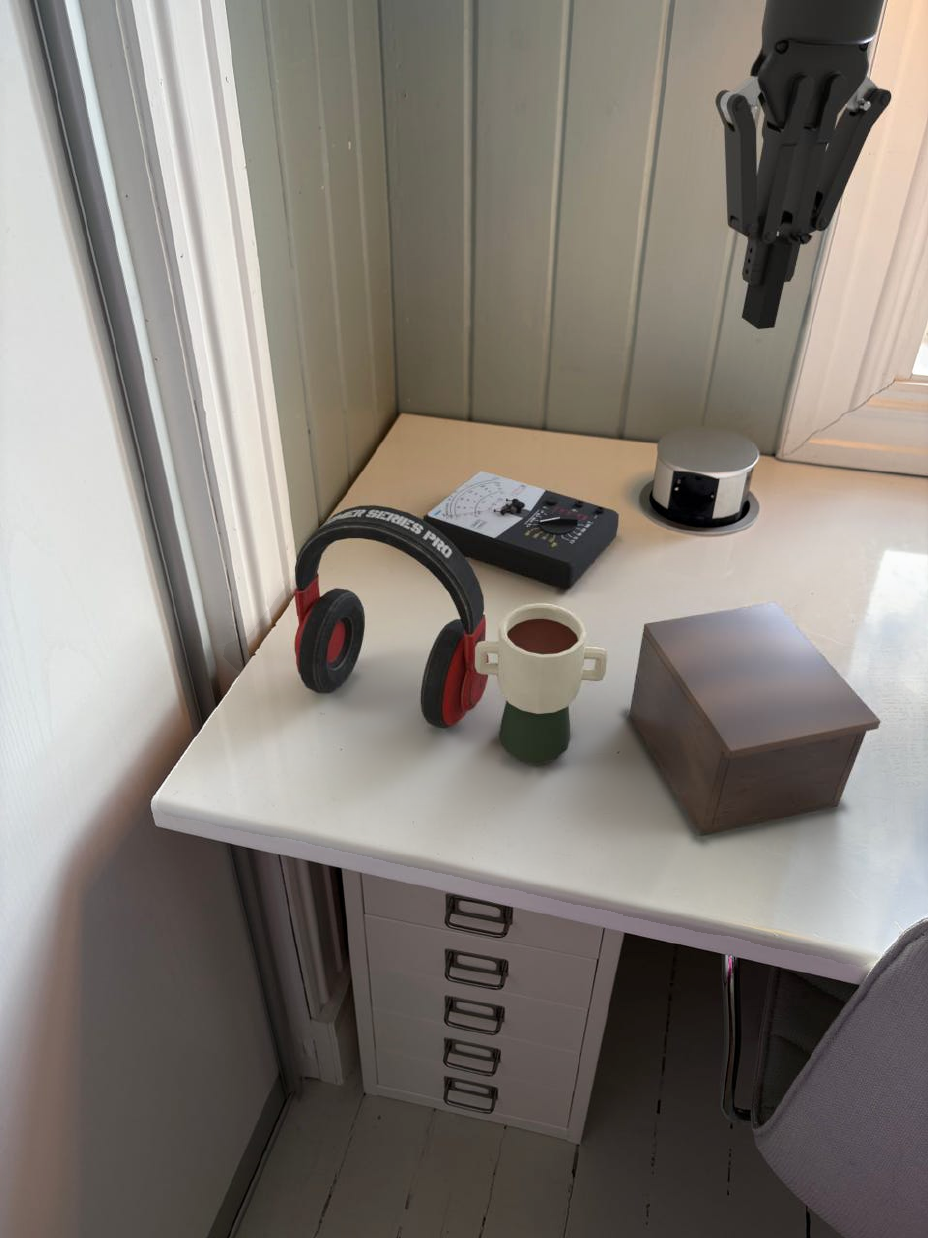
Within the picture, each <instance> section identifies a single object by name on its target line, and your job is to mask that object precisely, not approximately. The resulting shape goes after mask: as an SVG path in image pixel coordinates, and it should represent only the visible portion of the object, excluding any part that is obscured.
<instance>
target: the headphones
mask: <svg viewBox="0 0 928 1238" xmlns="http://www.w3.org/2000/svg"><path fill="white" fill-rule="evenodd" d="M347 539H361V540H368V541H369V540H370V541H375V542H379V543H381V544H385V545H387V546H390V547H392V548H394V549H397V550H399V551H401V552H403V553H404V554H406V555H408V556H409V557H411V558H412V559H414V560H415V561H417V562H418V563H419V564H421V565H422V566H423V567H425V568H426V569H427V570H428V571H429V572H430V573H431V574H432V575H433V576H434V578H436V579H437V581H439V583H441V585H442V586H443V587H444V589H445V590H446V591H447V592H448V595H449V596H450V598H451V600H452V602H453V604H454V606H455V608H456V611H457V614H458V616H459V618H455V619H453V620H451V621H449V622H448V623H446V624H445V625H444V626H443V627H442V629H441V630H440V631H439V633H438V635H437V636H436V638H435V640H434V642H433V644H432V646H431V649H430V651H429V655H428V657H427V661H426V663H425V667H424V671H423V675H422V681H421V688H420V700H419V701H420V710H421V713H422V717H423V718H424V720H425V721H426V723H428V724H429V725H430V726H432V727H435V728H436V729H443V730H444V729H447V728H451V727H452V726H453V725H455V724H457V723H459V722H460V721H461V720H462V719H463V718H464V717H465V715H466V714H467V712H468V711H470V710H473V709H474V708H475V707H476V706H477V704H478V703H479V702H480V701H481V699H482V697H483V694H484V693H485V690H486V687H487V683H488V680H489V675H486V674H480V673H478V672H477V671H476V668H475V647H476V645H477V643H478V642H482V641H486V635H487V633H486V632H487V631H486V629H487V622H486V620H487V619H486V614H484V612H485V599H484V597H485V596H484V593H483V590H482V588H481V587H482V586H481V583H480V581H479V579H478V577H477V575H476V573H475V571H474V569H473V568H472V565H471V564H470V563H469V561H468V560H467V558H466V556H465V555H462V553H461V552H460V551H459V550H458V549H457V547H456V546H455V545H454V544H453V543H452V542H451V541H450V540H449V539H448V538H447V537H446V536H445V535H443V534H442V533H441V532H440V531H439V530H438V529H436V528H435V527H433V526H432V525H430V524H429V523H427V522H426V521H424V520H423V518H420V517H419V516H416V515H414V514H412V513H409V512H408V511H404V510H401V509H398V508H393V507H389V506H382V505H376V504H369V505H357V506H354V507H349V508H346V509H343V510H341V511H339V512H337V513H335V514H333V515H332V516H330V517H329V518H328V519H327V520H326V521H325V522H324V523H323V524H321V526H320V527H318V528H317V530H316V531H314V533H312V535H310V537H309V538H307V540H306V541H305V543H304V544H303V545H302V546H301V548H300V550H299V552H298V554H297V557H296V560H295V565H294V580H295V587H296V588H295V589H294V603H295V609H296V616H297V621H298V625H297V629H296V632H295V636H294V644H293V645H294V654H295V665H296V668H297V672H298V675H299V677H300V680H301V681H302V683H303V685H304V686H305V688H307V689H309V690H311V691H313V692H315V693H317V694H330V693H333V692H334V691H336V690H338V689H340V688H341V687H342V686H343V684H345V682H346V681H347V680H348V678H349V677H350V676H351V674H352V673H353V670H354V668H355V666H356V664H357V662H358V658H359V656H360V653H361V651H362V646H363V642H364V637H365V627H366V614H365V609H364V605H363V603H362V601H361V599H360V597H359V596H358V595H357V594H356V593H354V592H353V591H351V590H349V589H345V588H337V587H335V588H333V589H330V590H328V591H326V592H325V593H324V594H322V595H321V594H320V584H319V583H320V582H319V581H320V574H319V568H320V563H321V559H322V556H323V554H324V552H325V551H326V550H327V549H328V547H329V546H330V545H332V544H333V543H335V542H337V541H342V540H347ZM489 660H490V659H489V653H487V663H490V661H489Z"/></svg>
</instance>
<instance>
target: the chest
mask: <svg viewBox="0 0 928 1238" xmlns="http://www.w3.org/2000/svg"><path fill="white" fill-rule="evenodd" d="M633 684H634V685H633V690H632V696H631V697H632V698H631V703H630V709H629V716H630V718H631V719H632V721H633V723H634V725H635V726H636V728H637V729H638V731H639V733H640V735H641V736H642V738H643V740H644V742H645V743H646V745H647V746H648V748H649V750H650V752H651V753H652V755H653V757H654V758H655V760H656V762H657V763H658V766H659V767H660V769H661V771H662V772H663V774H664V776H665V778H666V779H667V781H668V782H669V784H670V786H671V788H672V789H673V791H674V793H675V795H676V796H677V798H678V800H679V801H680V803H681V805H682V806H683V808H684V810H685V811H686V813H687V815H688V817H689V819H690V820H691V821H692V823H693V825H694V827H695V829H696V831H697V832H698V834H699V836H707V835H711V834H715V833H716V834H717V833H720V832H724V831H730V830H733V829H738V828H742V827H743V828H744V827H747V826H748V827H749V826H753V825H757V824H760V823H761V824H762V823H766V822H770V821H775V820H779V819H784V818H788V817H792V816H796V815H802V814H807V813H811V812H815V811H820V810H825V809H829V808H835V807H838V806H839V804H840V802H841V798H842V796H843V793H844V791H845V788H846V786H847V784H848V780H849V779H850V775H851V773H852V770H853V768H854V765H855V763H856V760H857V757H858V755H859V752H860V749H861V747H862V745H863V742H864V739H865V737H866V734H867V732H868V731H864V732H859V733H854V734H849V735H844V736H839V737H835V738H830V739H825V740H820V741H815V742H810V743H805V744H800V745H795V746H790V747H785V748H780V749H775V750H770V751H765V752H761V753H756V754H751V755H746V756H741V757H736V758H731V759H728V757H727V756H726V754H725V753H724V751H723V750H722V748H721V747H720V745H719V744H718V742H717V741H716V739H715V738H714V736H713V735H712V733H711V732H710V730H709V729H708V727H707V726H706V724H705V723H704V721H703V720H702V718H701V717H700V715H699V714H698V712H697V711H696V709H695V708H694V706H693V705H692V703H691V702H690V700H689V699H688V697H687V696H686V694H685V693H684V691H683V690H682V688H681V687H680V685H679V684H678V682H677V681H676V679H675V678H674V676H673V675H672V673H671V672H670V671H669V669H668V668H667V666H666V665H665V663H664V662H663V660H662V659H661V657H660V656H659V654H658V653H657V651H656V650H655V648H654V647H653V645H652V644H651V642H650V641H649V639H648V638H647V636H646V635H645V633H644V632H642V636H641V642H640V648H639V654H638V660H637V667H636V673H635V679H634V683H633Z"/></svg>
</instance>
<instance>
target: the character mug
mask: <svg viewBox="0 0 928 1238" xmlns="http://www.w3.org/2000/svg"><path fill="white" fill-rule="evenodd" d="M586 644H587V629H586V626H585V624H584V622H583V621H582V619H580V618H579V616H578V615H576V614H575V613H574V612H573V611H570V610H569V609H567V608H564V607H563V606H560V605H555V604H551V603H546V602H545V603H544V602H540V603H539V602H538V603H537V602H535V603H530V604H524V605H522V606H519V607H517V608H514V609H512V610H511V611H510V612H508V613H507V614H506V615H505V616H504V617H503V619H502V621H501V623H500V626H499V628H498V641H493V640H492V641H491V640H489V641H488V640H485V641H482V642H478V643H477V645H476V647H475V668H476V671H477V672H478V673H480V674H486V675H488V676H496V677H497V683H498V689H499V691H500V693H501V695H502V696H503V698H504V699H505V700H506V701H505V704H504V709H503V713H502V717H501V722H500V726H499V732H498V734H499V739H500V743H501V746H502V747H503V749H504V750H506V752H507V753H508V754H509V755H510V756H511V757H513V758H514V759H517V760H519V761H521V762H522V763H525V764H539V765H543V764H546V763H549V762H553V761H554V760H558V759H559V757H560V756H561V755H562V754H563V753H565V752H566V751H567V750H568V748H569V744H570V741H571V720H570V708H569V706H570V704H572V702H573V701H574V700H575V699H576V698H577V696H578V694H579V692H580V690H581V689H580V688H581V685H582V684H581V683H582V681H590V682H599V681H602V680H603V679H604V677H605V676H606V673H607V664H608V658H609V654H608V651H607V649H606V648H602V647H595V646H587V645H586ZM487 654H494V655H495V654H497V663H495V662H489V663H487ZM585 660H594V667H593V668H584V664H585V663H584V662H585Z"/></svg>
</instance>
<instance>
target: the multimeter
mask: <svg viewBox="0 0 928 1238" xmlns="http://www.w3.org/2000/svg"><path fill="white" fill-rule="evenodd" d="M619 515H620V514H619V513H618V512H617V511H615V510H614V509H611V508H608V507H605V506H602V505H598V504H594V503H591V502H587V501H584V500H580V499H578V498H574V497H571V496H568V495H564V494H561V493H558V492H554V491H551V490H547V489H545V488H541V487H538V486H534V485H531V484H528V483H524V482H521V481H518V480H514V479H511V478H509V477H508V478H507V477H504V476H501V475H497V474H495V473H491V472H488V471H484V470H480V471H477V472H476V473H475V474H474V475H472V476H471V477H470V478H469V479H468V480H467V481H465V482H463V483H462V485H460V486H459V487H458V488H457V489H455V490H454V491H453V492H451V494H449V495H448V496H447V497H445V498H444V499H443V500H442V501H440V502H439V503H438V504H437V505H435V506H434V507H433V508H432V509H431V510H429V511H428V512H427V513H426V514H425V515H423V517H422V519H423V520H424V521H426V522H427V523H429V524H430V525H432V526H433V527H435V528H436V529H438V530H439V531H440V532H441V533H442V534H443V535H445V536H446V537H447V538H448V539H449V540H450V541H451V542H452V543H453V544H454V545H455V546H456V547H457V549H458V550H459V551H460V552H461V553H462V555H463V556H464V557H468V558H471V559H474V560H477V561H480V562H483V563H485V564H488V565H492V566H494V567H497V568H499V569H503V570H506V571H509V572H511V573H515V574H518V575H521V576H523V577H526V578H529V579H531V580H535V581H538V582H540V583H543V584H546V585H549V586H551V587H554V588H557V589H561V590H569V589H571V588H572V587H573V586H574V585H575V584H576V583H577V581H578V580H580V578H581V577H582V576H583V575H584V573H586V572H587V570H588V569H589V568H590V567H591V565H593V563H594V562H595V561H596V560H597V558H599V556H601V554H602V553H603V552H604V551H605V550H606V549H607V547H608V546H609V545H610V544H611V543H612V542H613V541H614V540H615V538H616V537H617V534H618V529H619V518H620V516H619Z"/></svg>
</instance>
